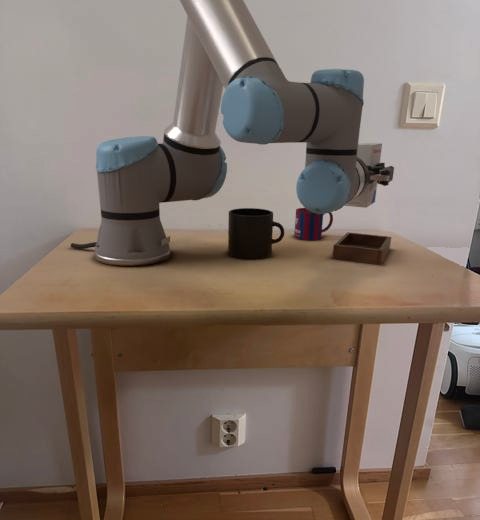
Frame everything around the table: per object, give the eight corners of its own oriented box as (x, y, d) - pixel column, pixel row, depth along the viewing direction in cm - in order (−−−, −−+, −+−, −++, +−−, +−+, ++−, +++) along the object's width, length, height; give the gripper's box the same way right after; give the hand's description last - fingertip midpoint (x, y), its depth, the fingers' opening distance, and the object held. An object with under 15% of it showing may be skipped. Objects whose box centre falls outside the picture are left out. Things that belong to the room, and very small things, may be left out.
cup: (290, 235, 124) (292, 208, 121) (326, 233, 126) (328, 207, 124) (300, 241, 118) (302, 212, 115) (337, 239, 120) (340, 211, 118)
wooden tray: (332, 258, 103) (333, 244, 102) (346, 244, 115) (347, 232, 114) (380, 264, 100) (382, 250, 99) (389, 249, 112) (391, 236, 111)
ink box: (352, 200, 104) (359, 142, 100) (376, 202, 102) (383, 143, 98) (342, 205, 97) (348, 143, 93) (366, 208, 95) (374, 144, 91)
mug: (284, 260, 101) (287, 216, 98) (227, 259, 101) (227, 215, 98) (281, 249, 110) (283, 208, 107) (228, 247, 110) (229, 207, 107)
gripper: (290, 197, 87) (324, 184, 107) (394, 206, 80) (410, 190, 100) (293, 153, 84) (327, 148, 104) (401, 158, 77) (416, 151, 97)
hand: (368, 168), depth 102 cm, fingers closed on ink box, 5 cm apart
